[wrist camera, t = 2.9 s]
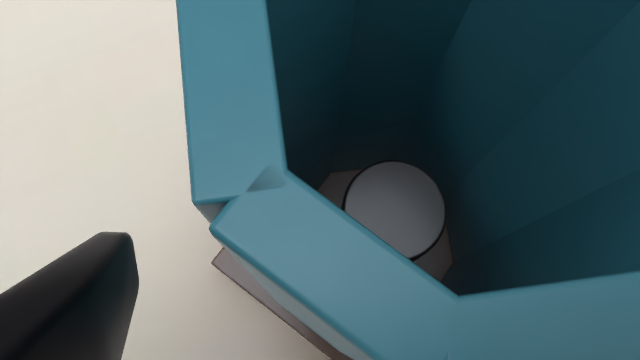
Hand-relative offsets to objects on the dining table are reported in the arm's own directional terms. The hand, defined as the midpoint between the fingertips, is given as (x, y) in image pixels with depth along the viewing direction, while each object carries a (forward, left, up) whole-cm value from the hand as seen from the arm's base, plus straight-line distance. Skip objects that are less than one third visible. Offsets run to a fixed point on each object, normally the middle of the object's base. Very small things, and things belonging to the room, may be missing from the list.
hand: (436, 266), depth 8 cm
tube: (+1, +1, -9) cm, 9 cm away
